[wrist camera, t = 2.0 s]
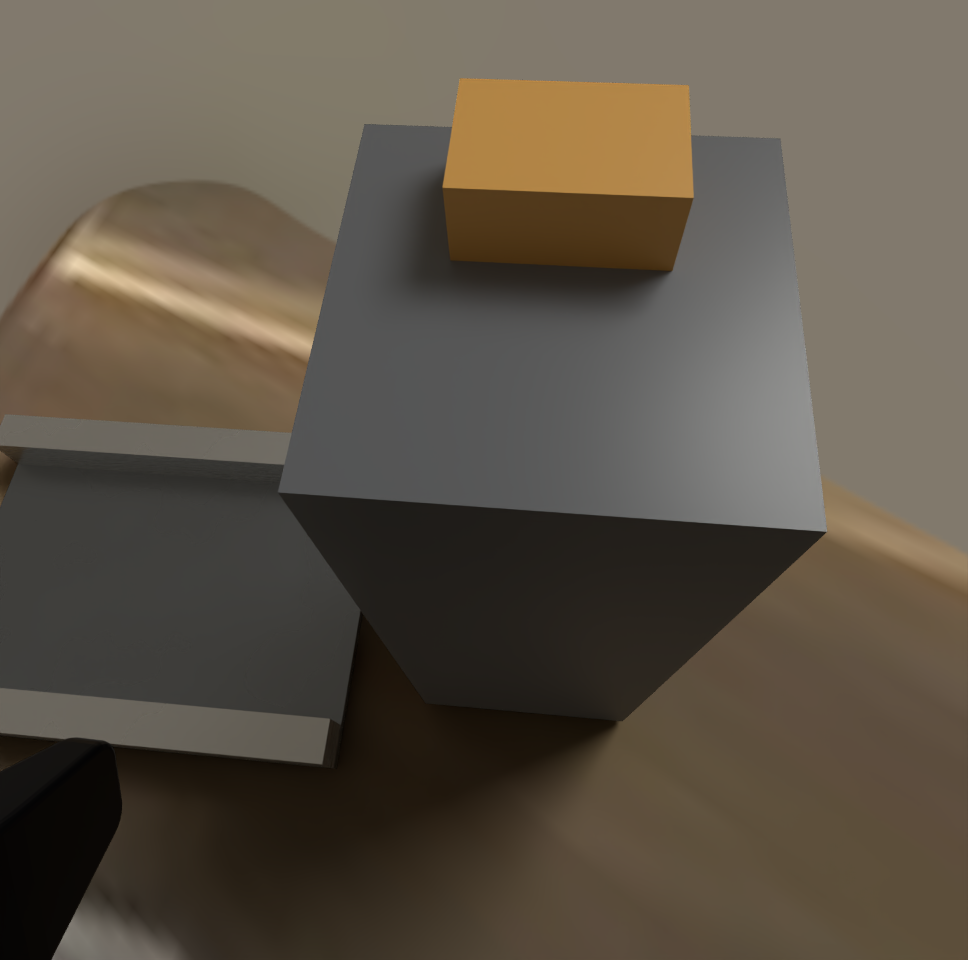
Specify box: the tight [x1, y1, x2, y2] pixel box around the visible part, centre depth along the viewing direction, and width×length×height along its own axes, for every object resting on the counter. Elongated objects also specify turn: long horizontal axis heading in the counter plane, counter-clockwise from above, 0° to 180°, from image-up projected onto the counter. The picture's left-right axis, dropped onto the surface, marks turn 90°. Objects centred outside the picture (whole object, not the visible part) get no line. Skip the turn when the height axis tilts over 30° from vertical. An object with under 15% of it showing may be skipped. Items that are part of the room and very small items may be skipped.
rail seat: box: [0, 414, 363, 769], centre depth 19 cm, size 8×11×2 cm
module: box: [278, 78, 827, 721], centre depth 13 cm, size 5×5×14 cm
